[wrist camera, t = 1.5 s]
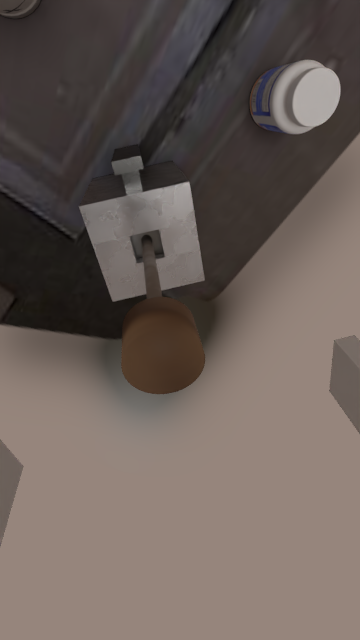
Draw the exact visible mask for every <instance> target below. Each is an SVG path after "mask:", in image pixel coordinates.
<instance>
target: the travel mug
mask: <svg viewBox="0 0 360 640" xmlns="http://www.w3.org/2000/svg"><path fill="white" fill-rule="evenodd" d="M40 1H41V0H0V15H2V16H4V17H7V18H13V19H17V18H23V17H26V16H28V15H30V14H31V13H32V12H34V10H35V9H36V8H37V7H38V5H39V3H40Z"/></svg>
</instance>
